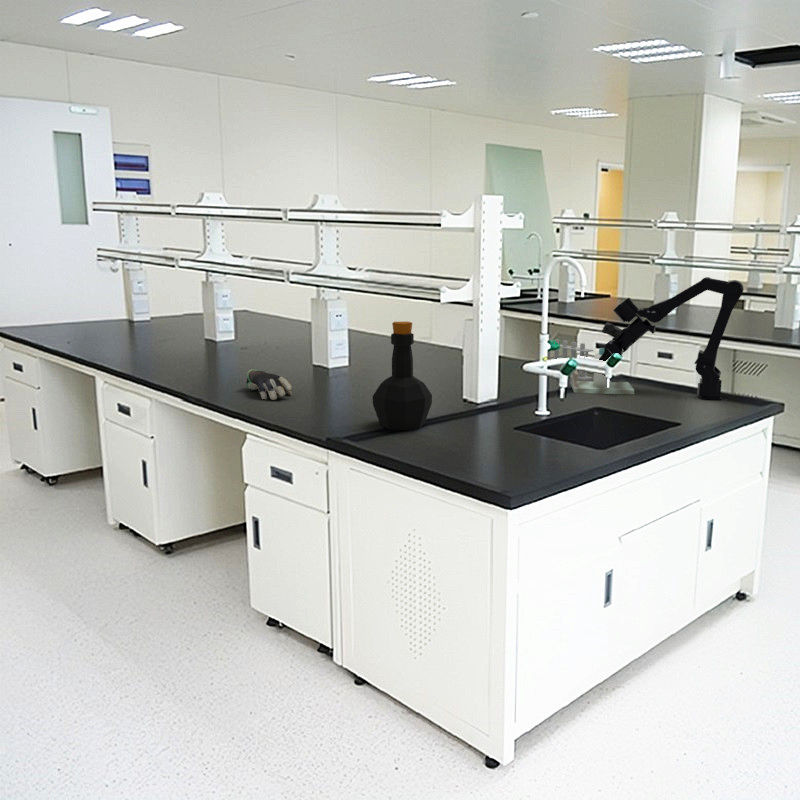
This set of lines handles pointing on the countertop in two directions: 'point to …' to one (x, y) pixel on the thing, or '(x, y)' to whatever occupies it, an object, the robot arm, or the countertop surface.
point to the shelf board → (589, 388)
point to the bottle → (402, 387)
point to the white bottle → (599, 378)
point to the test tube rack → (573, 354)
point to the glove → (268, 384)
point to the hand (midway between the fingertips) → (599, 362)
